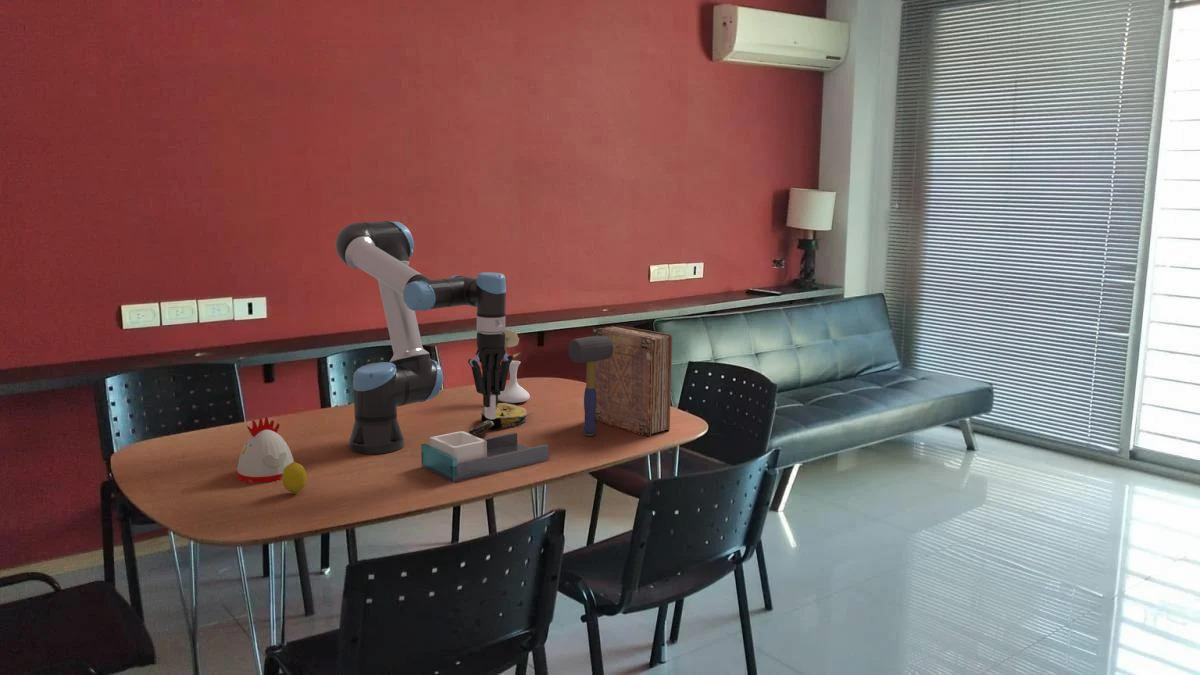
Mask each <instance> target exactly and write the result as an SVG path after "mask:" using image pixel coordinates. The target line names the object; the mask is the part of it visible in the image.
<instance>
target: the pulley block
mask: <svg viewBox="0 0 1200 675" xmlns="http://www.w3.org/2000/svg"><path fill="white" fill-rule="evenodd" d="M533 414H534V411H533V412H531V413H529V414H528V413H527V409H526V408H524V407H523V406H518V405H516V404H515V403H507V402H503V401H498V405H497V406H496V419H488V418H486V417H485V407H483V408H482V412H481V419H480V421H481V423H480V424H478V425H476V426H473V427H471V429H469V430H468V433H469V434H471V435H473V436H477V435H479V434H481V433H484V432H487V431H492V432H494V431H498V430H499V431H500V430H503V429H509V428H515V426H516V427H520V426H521V424H522V425H524V424H525V423H526V422H527V420H526V418H527V417H528V416H531V415H533ZM523 423H524V424H523ZM519 425H520V426H519Z"/></svg>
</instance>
